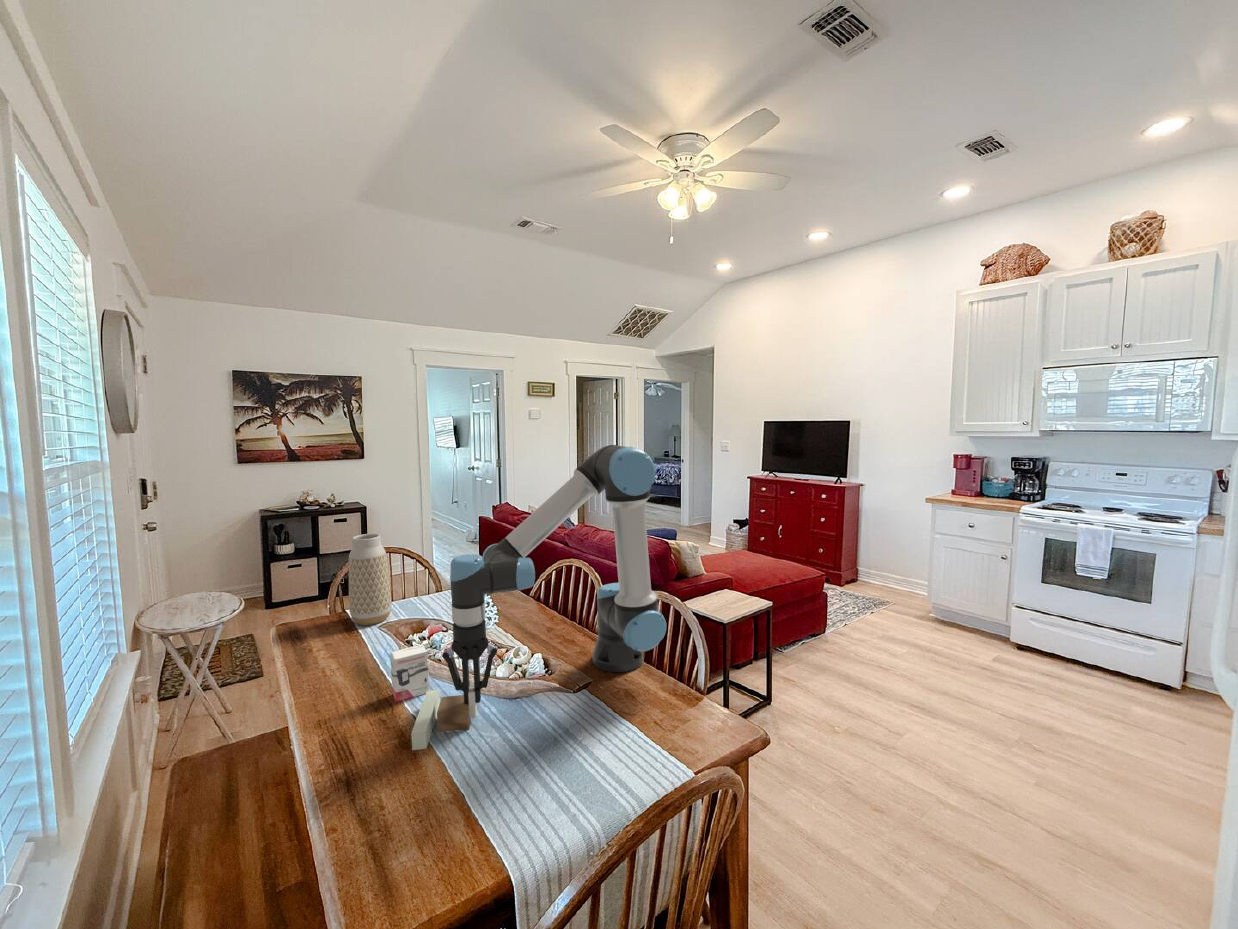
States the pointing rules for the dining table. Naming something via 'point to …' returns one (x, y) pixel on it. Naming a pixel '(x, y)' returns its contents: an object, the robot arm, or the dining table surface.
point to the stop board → (425, 720)
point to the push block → (453, 714)
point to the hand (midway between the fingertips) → (473, 715)
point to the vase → (368, 580)
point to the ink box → (409, 672)
